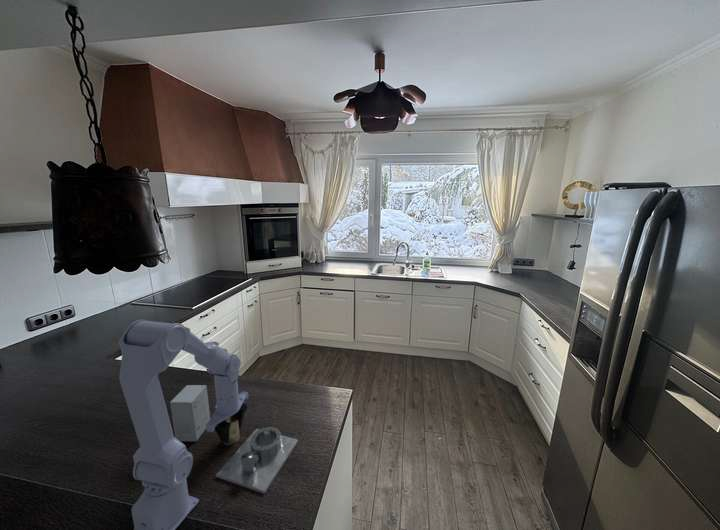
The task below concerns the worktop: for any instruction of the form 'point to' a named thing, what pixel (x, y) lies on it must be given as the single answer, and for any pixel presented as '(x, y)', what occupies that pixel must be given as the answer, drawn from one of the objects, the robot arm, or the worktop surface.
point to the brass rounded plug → (233, 430)
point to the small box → (190, 412)
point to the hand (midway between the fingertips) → (231, 434)
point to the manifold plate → (261, 466)
